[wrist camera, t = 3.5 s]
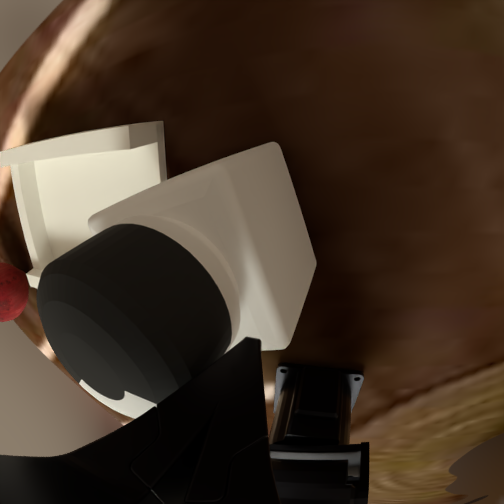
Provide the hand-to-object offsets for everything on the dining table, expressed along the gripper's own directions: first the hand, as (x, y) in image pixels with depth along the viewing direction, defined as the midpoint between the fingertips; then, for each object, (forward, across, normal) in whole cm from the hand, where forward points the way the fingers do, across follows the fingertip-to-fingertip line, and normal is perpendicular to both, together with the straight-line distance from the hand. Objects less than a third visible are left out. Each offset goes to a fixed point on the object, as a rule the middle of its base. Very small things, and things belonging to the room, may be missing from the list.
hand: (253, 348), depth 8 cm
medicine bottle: (+10, +3, 0) cm, 10 cm away
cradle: (+10, +14, 0) cm, 17 cm away
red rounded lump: (+10, +27, +8) cm, 30 cm away
